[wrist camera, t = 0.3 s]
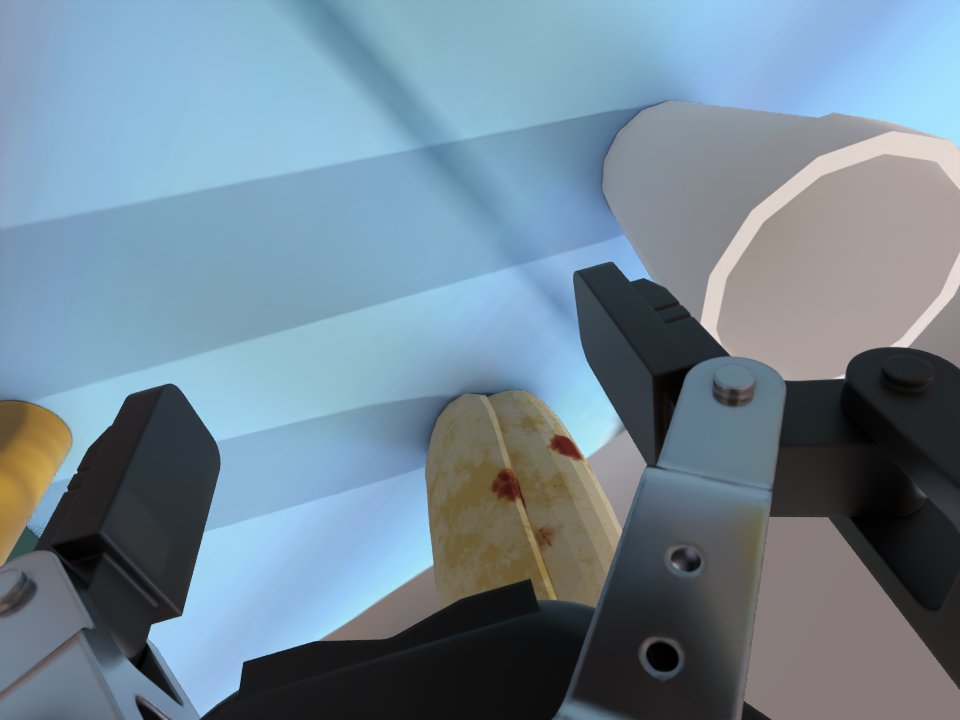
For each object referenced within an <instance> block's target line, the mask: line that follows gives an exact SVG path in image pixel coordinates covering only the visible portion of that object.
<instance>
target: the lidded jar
mask: <svg viewBox="0 0 960 720" xmlns="http://www.w3.org/2000/svg"><path fill="white" fill-rule="evenodd" d="M71 446H72V436H71V433H70V430H69V429H68V427H67V425H66V424H65V423H64V422H63V421H62V420H61V419H60V418H59V417H58V416H56V415H55V414H53V413H52V412H50V411H48V410H46V409H44V408H42V407H40V406H37V405H34V404H30V403H26V402H20V401H0V567H1V566H2V565H4V563H5V562H6V560H7V558H8V556H9V555H10V553H11V551H12V550H13V548H14V546H15V544H16V543H17V541H18V539H19V537H20V536H21V534H22V532H23V530H24V529H25V527H26V525H27V524H28V522H29V520H30V518H31V517H32V515H33V513H34V511H35V510H36V508H37V506H38V504H39V503H40V501H41V499H42V498H43V496H44V494H45V492H46V491H47V489H48V487H49V485H50V484H51V482H52V480H53V478H54V477H55V475H56V473H57V471H58V470H59V468H60V466H61V465H62V463H63V461H64V459H65V458H66V456H67V454H68V452H69V451H70V449H71Z"/></svg>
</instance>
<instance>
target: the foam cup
mask: <svg viewBox="0 0 960 720" xmlns="http://www.w3.org/2000/svg"><path fill="white" fill-rule="evenodd" d="M602 190H603V192H604V195H605V197H606V199H607V202H608V204H609V206H610V209H611V211H612V213H613V214H614V217H615V219H616V220H617V222H618V224H619V225H620V227H621V229H622V230H623V232H624V234H625V235H626V237H627V239H628V240H629V242H630V244H631V245H632V247H633V249H634V250H635V252H636V254H637V255H638V257H639V259H640V260H641V262H642V264H643V265H644V267H645V269H646V270H647V272H648V274H649V276H650V277H651V279H652V281H653V282H654V283H656V284H658V285H661V286H663V287H665V288H667V290H668V291H669V292H670V293H671V294H672V295H673V296H674V297H675V298H676V299H677V300H678V301H679V303H680V305H683V306H684V307H685V308H686V309H687V310H688V312H689V313H690V314H691V317H694V318H695V319H696V320H697V321H698V322H699V323H700V324H701V325H702V326H703V327H704V328H705V329H706V330H707V331H708V332H709V334H710V335H711V336H712V337H713V338H714V339H715V340H716V341H717V342H718V343H719V344H720V345H721V346H722V347H723V348H724V349H725V350H726V351H727V352H728V353H729V354H730V356H733V357H744V358H749V359H753V360H757V361H759V362H762V363H764V364H766V365H768V366H770V367H772V368H773V369H774V370H776V371H777V372H778V373H779V374H780V375H781V376H782V378H783V380H789V381H805V380H825V379H844V378H845V373H846V369H847V366H848V363H849V362H850V361H851V359H852V358H853V357H855V356H856V355H858V354H860V353H862V352H864V351H867V350H870V349H875V348H881V347H903V348H907V347H908V346H909V345H910V344H911V343H912V342H913V341H914V340H915V339H916V337H917V336H918V335H919V334H920V333H921V332H922V331H923V330H924V329H925V327H926V326H927V325H928V324H929V323H930V322H931V321H932V320H933V318H934V317H935V316H936V315H937V314H938V313H939V312H940V311H941V309H942V308H943V307H944V306H945V305H946V304H947V303H948V302H949V301H950V299H951V298H952V297H953V296H954V295H955V293H956V290H957V288H958V286H959V284H960V150H959V149H958V147H957V146H956V145H955V144H954V142H953V141H952V140H948V139H945V138H942V137H938V136H935V135H932V134H928V133H925V132H922V131H918V130H915V129H912V128H908V127H905V126H901V125H898V124H895V123H891V122H887V121H881V120H875V119H869V118H863V117H857V116H851V115H845V114H839V113H831V114H829V115H826V116H823V117H820V118H816V117H808V116H800V115H791V114H783V113H775V112H767V111H759V110H751V109H742V108H734V107H726V106H718V105H710V104H702V103H694V102H685V101H673V100H669V101H666V102H663V103H661V104H658V105H655V106H652V107H649V108H646V109H644V110H641V111H640V112H639V113H638V114H637V115H636V116H635V117H634V118H633V119H632V120H631V121H630V122H628V123H627V124H626V125H625V126H624V127H623V128H622V129H621V130H620V131H619V132H618V133H617V135H616V137H615V139H614V141H613V143H612V145H611V147H610V149H609V151H608V153H607V155H606V157H605V159H604V167H603V183H602Z"/></svg>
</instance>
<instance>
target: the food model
mask: <svg viewBox="0 0 960 720" xmlns="http://www.w3.org/2000/svg"><path fill="white" fill-rule="evenodd" d="M425 478H426V486H427V499H428V514H429V526H430V534H431V543H432V552H433V561H434V574H435V585H436V591H437V597H438V603H439V608H440V610H442V609H444V608H445V607H447V606H449V605H451V604H452V603H454V602H456V601H458V600H459V599H462V598H465V597H468V596H472V595H475V594H479V593H482V592H486V591H489V590H493V589H496V588H499V587H503V586H506V585H510V584H513V583H517V582H520V581H523V580H527V579H530V578H531V581H532V585H533V588H534V592H535V595H536V599H537V600H561V601H571V602H575V603H580V604H584V605H589V606H591V607H594V608H596V607H597V604H598V601H599V598H600V595H601V592H602V589H603V586H604V583H605V580H606V577H607V575H608V572H609V569H610V566H611V563H612V560H613V557H614V554H615V551H616V548H617V545H618V543H619V540H620V537H621V534H622V529H621V527H620V525H619V522H618V520H617V518H616V516H615V514H614V511H613V509H612V507H611V505H610V503H609V501H608V499H607V497H606V495H605V494H604V492H603V490H602V488H601V487H600V485H599V483H598V481H597V479H596V477H595V475H594V474H593V472H592V470H591V468H590V466H589V464H588V463H587V461H586V459H585V458H584V456H583V454H582V453H581V451H580V450H579V448H578V446H577V445H576V443H575V441H574V440H573V438H572V437H571V435H570V433H569V432H568V430H567V429H566V427H565V426H564V425H563V423H562V422H561V421H560V420H559V418H558V417H557V416H556V415H555V413H554V412H553V411H552V410H551V409H550V408H549V407H548V406H547V405H546V404H545V403H544V402H543V401H542V400H540V399H539V398H537V397H536V396H534V395H533V394H532V393H530V392H527V391H523V390H507V391H504V392H500V393H497V394H493V395H491V396H489V397H486V395H479V394H470V393H467V394H463V395H462V396H460V397H459V398H457V399H455V400H454V401H452V402H451V403H449V404H448V405H447V407H446V408H445V409H444V410H443V412H442V413H441V414H440V416H439V417H438V418H437V421H436V424H435V427H434V430H433V432H432V435H431V440H430V444H429V449H428V455H427V460H426V468H425Z"/></svg>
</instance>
